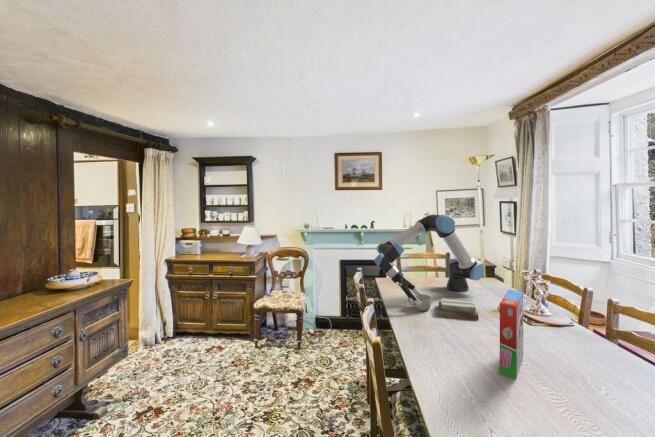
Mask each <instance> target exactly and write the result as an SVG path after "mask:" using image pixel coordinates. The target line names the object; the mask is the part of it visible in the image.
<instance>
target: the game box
mask: <svg viewBox="0 0 655 437" xmlns="http://www.w3.org/2000/svg"><path fill="white" fill-rule="evenodd" d="M523 358H524V291H521V290H513V289H508V290H507V291H506V293H505V294H504V296H503V298H502V299H501V301H500V303H499V374H500V375H502V376H505V377H508V378H511V379H514V380H517V378H518V374H519V371H520V367H521V364H522V361H523Z"/></svg>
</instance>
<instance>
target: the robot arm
mask: <svg viewBox="0 0 655 437" xmlns="http://www.w3.org/2000/svg"><path fill="white" fill-rule="evenodd" d="M455 231H456V221H455V220H454V218H453V217H452V216H451V215H448V214H429V215H426V216H424V217H422V218H421V219H419V220H418V221H416V222H415V224H414V225H412V226H410V227H409V228H407V229H406V230H404V231H402V232H401V233H399V234H398V235H395V236H394V237H392V238H391V239H389V240H388V241H386V242H383V243H379V244H378V245H377V247H376V251H377V253H378V255H377V256H376V257H375V258H374V259H373V262H374V263H375V264H376V266H377V267H379V268H380V269H381V270H382V272H384V274H385V275H386V277H388V278H389V279H391V281H392V282H393V283H395V284H396V283H398V284H397V285H398V286H399V287H400V288H401V290H402V291H403V292H404V294H405V295H406V296H407V298H408V299H409V298H411V301H412V302H413V301H414V302H415V303H416V304H417V305H420V304H421V303H422V302H421V301H420V300H419V299H418V298H417V297H416V296H415V294H421V293H420V291H419V290H417V288H416V286H415V285H414V284H413V283H411V282H410V281H409V280H407V279H406V278H405V277H404V273H403V272H401V271H400V270H399V268H398V267H397V266H395V265H394V264H393V263H394V262H396V260H397V259H398V258H399V257H400V256H402V254H403V253H404V252H405V249H404V247H403V246H404V245H405V244H407V243H409V242H410V241H412V240H413V239H415V238H416V237H418V236H421V234H422V235H423V234H426V233H429V232H435V233H436V234H437V236H438V237H439V238H440V239H443V241H444V242H445V244H446V246H448V248H449V250H450V251H451V253H452V255H453V256H454V257H452V258H450V259H449V260H448V280H447V282H446V289H447V290H449V291H453V292H468V291H469V288H470V287H469V283H468V281H467V279H469V280H472V281H479V280H481V279H482V278H483V276H484V275H485V267H484V266H483V265H482V264H481V263H478V262H477V261H476V259H475V258H474V257H473V256H471V255H470V254H469V252H468V251H467V249H466V247H465V246H464V245H463V243H462V241H461V240H460V238H459V236H458V235H457V233H456V232H455Z"/></svg>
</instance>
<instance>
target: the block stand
mask: <svg viewBox="0 0 655 437" xmlns="http://www.w3.org/2000/svg"><path fill="white" fill-rule="evenodd" d="M438 316H439V317H441V318H450V319H461V320H473V321H479V312H478V311H477V308H476V305H475V303H474V302H473V300H472V299H461V298H449V297H441V298H440V301H438Z"/></svg>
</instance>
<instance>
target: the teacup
mask: <svg viewBox="0 0 655 437" xmlns="http://www.w3.org/2000/svg"><path fill="white" fill-rule="evenodd" d="M414 295H415V296H416V297H417V298H418V299H419V300H420V301H421V302H422V303H421V304H420V305H417V304H416V303H415V302H414V301H413V300H412V299H411V298H408V300H407V302H408V303H409V305H411V306H412V307H413V308H415V309H416V310H417V311H420V312H426V311H428V310H429V309H431V307H432V297H431V296H430V295H429V294H424V293H420V294H414ZM411 301H412V302H411Z"/></svg>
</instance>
